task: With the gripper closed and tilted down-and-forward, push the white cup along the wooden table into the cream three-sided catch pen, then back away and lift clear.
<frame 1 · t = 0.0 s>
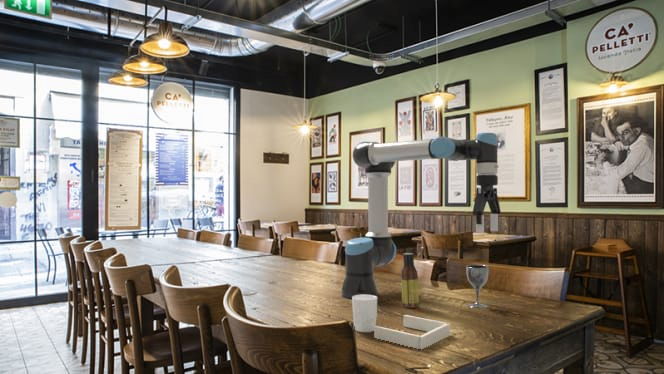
hand: (487, 232, 166), 28 cm above the table, tool pointing down, fingers open, 13 cm apart
wine glass: (477, 306, 168), on the table
sauce bottle: (410, 307, 168), on the table
catch pen: (411, 336, 132), on the table
white cup: (364, 330, 139), on the table
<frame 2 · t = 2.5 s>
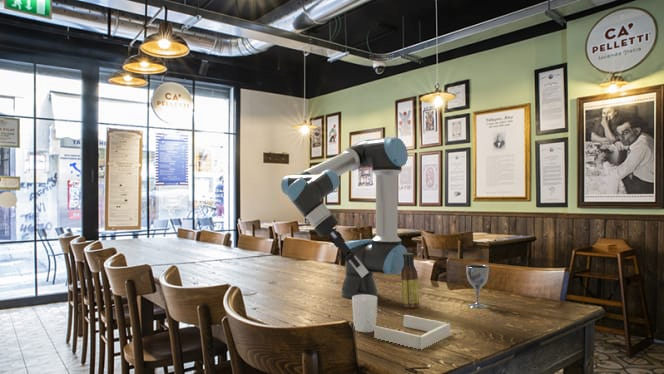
hand: (363, 273, 143), 17 cm above the table, tool tilted 40°, fingers open, 13 cm apart
nothing on the table moved.
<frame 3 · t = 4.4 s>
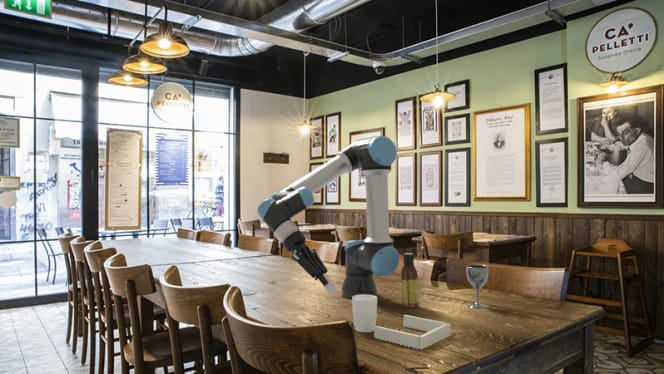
hand: (334, 291, 143), 11 cm above the table, tool tilted 45°, fingers closed
nothing on the table moved.
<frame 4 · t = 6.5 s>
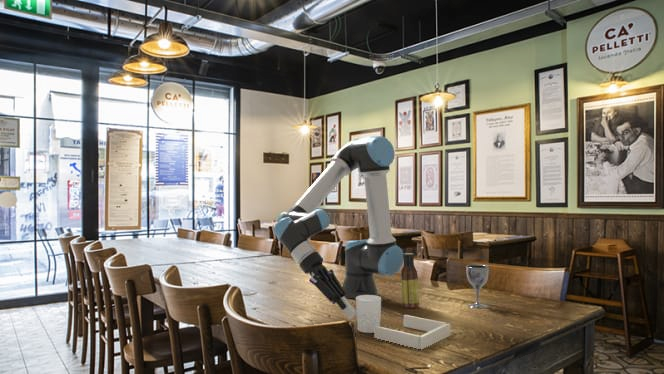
hand: (353, 315, 140), 4 cm above the table, tool tilted 45°, fingers closed
white cup: (368, 330, 139), on the table, touching gripper
everything else where it was.
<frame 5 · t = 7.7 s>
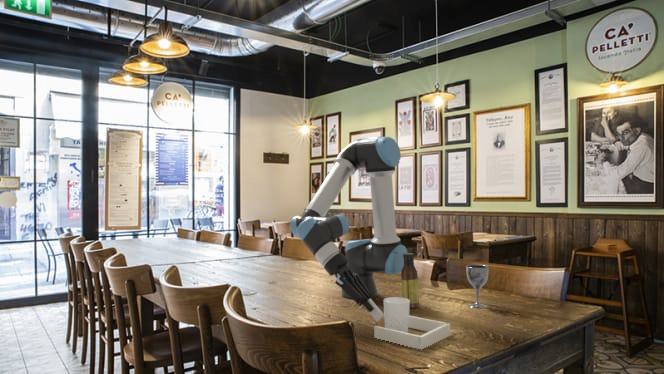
hand: (380, 318, 136), 4 cm above the table, tool tilted 45°, fingers closed
white cup: (396, 334, 135), on the table, touching gripper
everything else where it was.
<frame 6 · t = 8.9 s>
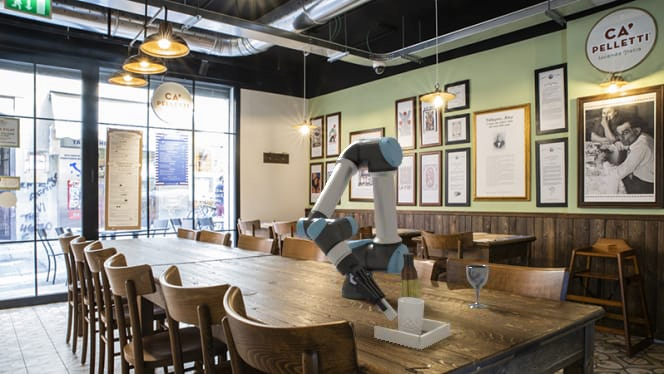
hand: (394, 318, 135), 5 cm above the table, tool tilted 45°, fingers closed
white cup: (409, 334, 134), on the table, touching gripper
everything else where it was.
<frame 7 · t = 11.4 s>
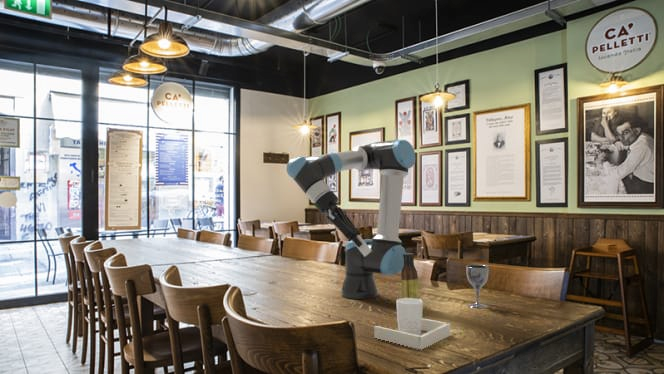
hand: (368, 253, 141), 23 cm above the table, tool tilted 40°, fingers closed
white cup: (409, 334, 135), on the table
everything else where it was.
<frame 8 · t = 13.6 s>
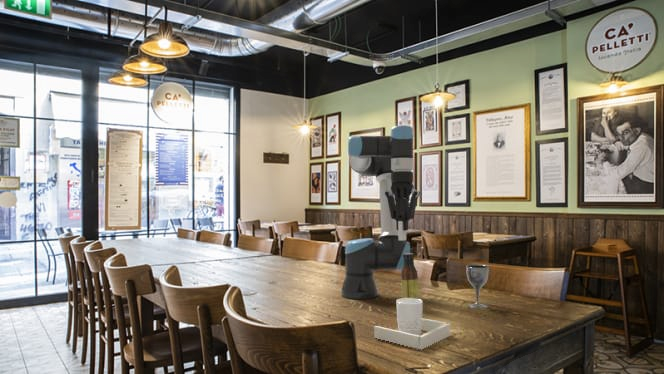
hand: (402, 240, 153), 26 cm above the table, tool pointing down, fingers closed
nothing on the table moved.
at the end: white cup inside the target area on the catch pen (2.4 cm from its centre), point 0.0 cm above the catch pen's base; white cup tilted 0° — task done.
